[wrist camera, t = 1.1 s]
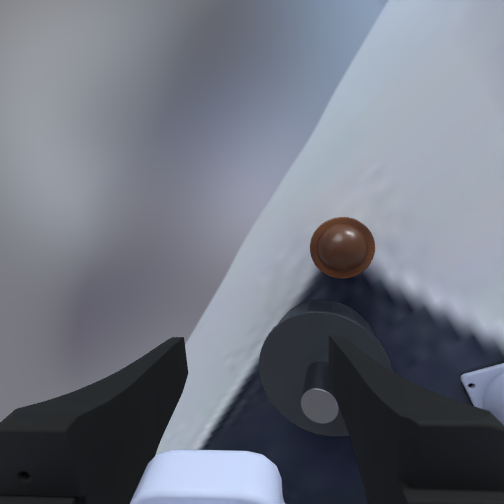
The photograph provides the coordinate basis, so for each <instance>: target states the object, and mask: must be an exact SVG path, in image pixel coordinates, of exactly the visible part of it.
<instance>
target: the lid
mask: <svg viewBox="0 0 504 504" xmlns="http://www.w3.org/2000/svg"><path fill="white" fill-rule="evenodd" d="M329 335H343V336H344V337H346V338H347V339H348V340H349V341H351V342H352V343H353V344H354V345H355V346H357V347H358V348H359V349H360V350H362V351H363V352H364V353H366V354H367V355H368V356H370V357H371V358H372V359H374V360H375V361H377V362H378V363H380V364H381V365H383V366H384V367H386V368H387V369H389V370H390V371H392V372H393V370H392V366H391V363H390V360H389V358H388V356H387V353H386V351H385V350H384V348H383V346H382V345H381V343H380V342H379V341H378V339H377V338H376V337H375V336H374V335H373V334H372V333H371V332H370V331H369V330H368V329H367V328H365V327H364V326H363V325H361V324H360V323H358V322H357V321H355V320H353V319H351V318H349V317H347V316H344V315H341V314H338V313H334V312H329V311H320V310H316V311H306V312H301V313H298V314H294V315H292V316H290V317H288V318H286V319H284V320H283V321H281V322H280V323H279V324H278V325H277V326H275V327H274V328H273V330H272V331H271V332H270V333H269V335H268V337H267V338H266V340H265V342H264V344H263V347H262V349H261V353H260V359H259V372H260V378H261V382H262V385H263V388H264V390H265V392H266V394H267V396H268V398H269V400H270V401H271V402H272V404H273V405H274V407H275V408H276V409H277V410H278V411H279V412H280V413H281V414H282V415H283V416H284V417H285V418H286V419H288V420H289V421H290V422H292V423H293V424H295V425H297V426H298V427H300V428H302V429H304V430H307V431H309V432H312V433H315V434H319V435H324V436H334V437H335V436H348V435H349V433H348V430H347V427H346V425H345V422H344V419H343V417H342V414H341V411H340V409H339V406H338V403H337V401H336V398H335V395H334V392H333V388H332V384H331V380H330V375H329Z"/></svg>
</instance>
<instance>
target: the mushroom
mask: <svg viewBox="0 0 504 504" xmlns="http://www.w3.org/2000/svg"><path fill="white" fill-rule="evenodd" d="M310 253H311V257H312V259H313V262H314V263H315V265H316V266H317V267H318V268H319V269H320V270H321V271H322V272H323V273H325V274H326V275H329V276H331V277H334V278H350V277H354V276H356V275H358V274H360V273H361V272H363V271H364V270H365V269H366V268H367V267H368V266H369V265H370V263H371V261H372V259H373V257H374V253H375V242H374V238H373V236H372V234H371V232H370V231H369V229H368V228H367V227H366V226H365V225H364V224H362V223H361V222H359V221H357V220H355V219H352V218H348V217H338V218H333V219H330V220H328V221H326V222H324V223H323V224H322V225H320V226H319V227H318V228H317V230H316V231H315V233H314V234H313V237H312V239H311V243H310Z"/></svg>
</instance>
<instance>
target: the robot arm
mask: <svg viewBox="0 0 504 504" xmlns="http://www.w3.org/2000/svg"><path fill="white" fill-rule="evenodd" d="M329 375H330V380H331V384H332V388H333V392H334V395H335V398H336V401H337V403H338V406H339V409H340V411H341V414H342V417H343V419H344V422H345V425H346V427H347V430H348V433H349V436H350V438H351V441H352V444H353V448H354V451H355V455H356V459H357V462H358V466H359V470H360V474H361V478H362V481H363V485H364V489H365V493H366V497H367V501H368V504H504V363H503V364H499V365H495V366H491V367H488V368H484V369H480V370H476V371H472V372H469V373H465V374H462V375H461V378H460V379H461V381H462V383H463V385H464V387H465V389H466V391H467V393H468V395H469V397H470V399H471V401H472V403H473V405H474V406H471V405H468V404H465V403H462V402H458V401H455V400H453V399H450V398H447V397H445V396H442V395H439V394H437V393H435V392H432V391H430V390H427V389H425V388H423V387H421V386H419V385H417V384H414V383H412V382H410V381H408V380H406V379H405V378H403V377H401V376H399V375H397V374H396V373H394V372H392V371H390V370H389V369H387V368H386V367H384V366H383V365H381V364H380V363H378V362H377V361H375V360H374V359H372V358H371V357H370V356H368V355H367V354H366V353H364V352H363V351H362V350H360V349H359V348H358V347H357V346H355V345H354V344H353V343H352V342H351V341H349V340H348V339H347V338H346V337H344V336H343V335H329ZM187 376H188V367H187V359H186V351H185V343H184V337H179V338H178V337H172V338H170V339H168V340H167V341H165V342H164V343H162V344H161V345H159V346H158V347H156V348H155V349H153V350H152V351H150V352H149V353H147V354H146V355H144V356H143V357H141V358H140V359H138V360H136V361H135V362H133V363H131V364H130V365H128V366H127V367H125V368H123V369H121V370H120V371H118V372H116V373H114V374H112V375H110V376H108V377H106V378H104V379H102V380H100V381H98V382H95V383H93V384H91V385H88V386H86V387H84V388H81V389H79V390H76V391H74V392H71V393H69V394H66V395H63V396H60V397H57V398H54V399H51V400H48V401H44V402H41V403H37V404H33V405H29V406H26V407H22V408H18V409H16V410H14V411H13V412H12V413H11V414H10V415H8V416H7V417H6V418H5V419H4V420H3V421H2V422H0V504H285V503H284V500H283V496H282V479H281V476H280V474H279V471H278V469H277V466H276V465H275V464H274V463H272V462H271V461H270V460H269V459H267V458H266V457H265V456H264V455H262V454H258V453H254V452H249V451H222V450H172V451H167V452H163V453H158V454H157V455H156V456H155V454H156V451H157V448H158V446H159V443H160V441H161V438H162V436H163V434H164V431H165V429H166V427H167V425H168V423H169V421H170V418H171V416H172V414H173V412H174V410H175V408H176V405H177V403H178V401H179V399H180V397H181V394H182V392H183V389H184V386H185V383H186V379H187ZM470 383H473V385H472V386H468V384H470Z"/></svg>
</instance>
